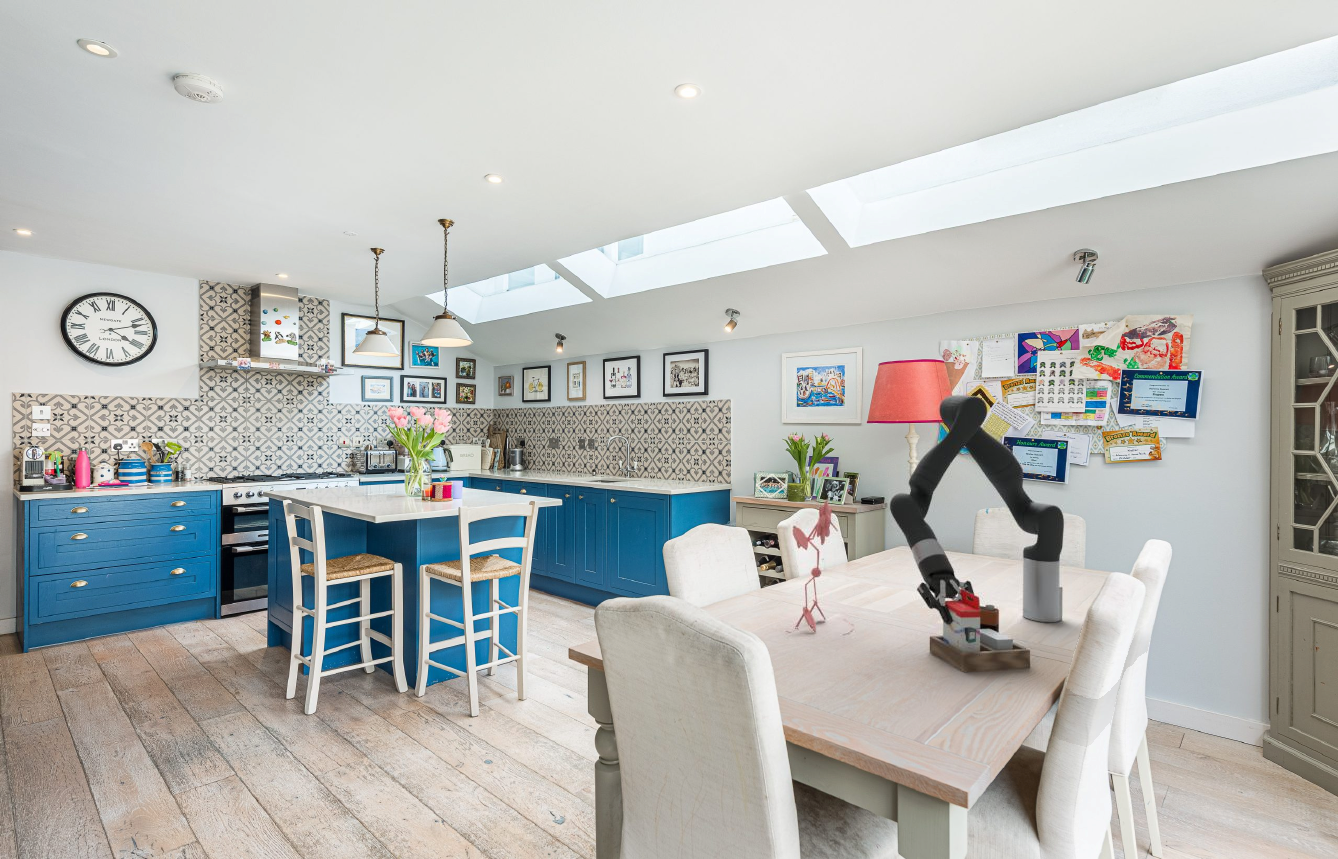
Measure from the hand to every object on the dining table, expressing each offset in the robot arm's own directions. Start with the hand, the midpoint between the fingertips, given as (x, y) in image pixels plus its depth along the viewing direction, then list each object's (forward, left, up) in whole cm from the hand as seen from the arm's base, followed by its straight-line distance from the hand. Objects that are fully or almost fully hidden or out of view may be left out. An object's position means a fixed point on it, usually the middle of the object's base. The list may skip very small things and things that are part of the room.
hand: (961, 621), depth 153 cm
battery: (-13, -9, -9) cm, 18 cm away
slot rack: (-4, +1, -9) cm, 10 cm away
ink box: (0, 0, -8) cm, 8 cm away
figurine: (+21, -29, -9) cm, 37 cm away
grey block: (-8, +1, -9) cm, 12 cm away
